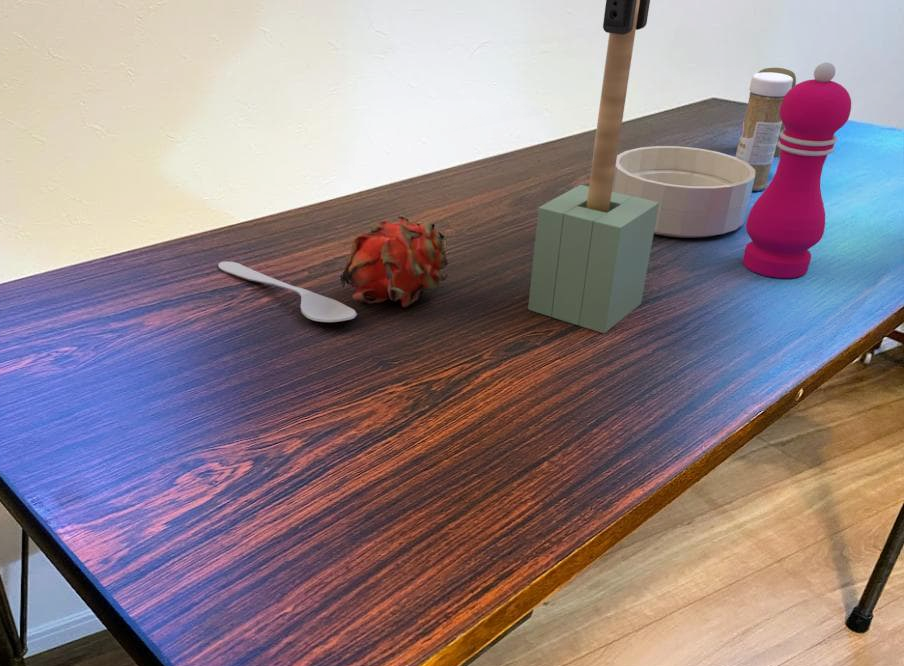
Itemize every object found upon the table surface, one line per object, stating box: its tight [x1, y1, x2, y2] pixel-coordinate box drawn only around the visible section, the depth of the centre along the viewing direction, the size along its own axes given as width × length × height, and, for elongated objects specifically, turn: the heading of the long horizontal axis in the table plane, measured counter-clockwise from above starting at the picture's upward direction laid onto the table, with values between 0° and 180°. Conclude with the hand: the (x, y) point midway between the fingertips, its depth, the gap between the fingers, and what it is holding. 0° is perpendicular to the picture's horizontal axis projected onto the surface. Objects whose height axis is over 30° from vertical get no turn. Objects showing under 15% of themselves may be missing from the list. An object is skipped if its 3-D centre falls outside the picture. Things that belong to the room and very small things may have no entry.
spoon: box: [217, 261, 358, 323], centre depth 87 cm, size 4×21×2 cm, turn 42°
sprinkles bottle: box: [735, 72, 793, 192], centre depth 111 cm, size 5×5×13 cm
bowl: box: [612, 145, 755, 239], centre depth 104 cm, size 15×15×6 cm
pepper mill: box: [742, 62, 852, 279], centre depth 88 cm, size 7×7×20 cm
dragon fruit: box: [339, 214, 449, 308], centre depth 85 cm, size 8×8×12 cm
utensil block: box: [527, 184, 659, 334], centre depth 82 cm, size 8×8×10 cm
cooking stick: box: [586, 0, 640, 213], centre depth 75 cm, size 2×2×20 cm
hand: (624, 29), depth 72 cm, fingers closed on cooking stick, 2 cm apart
